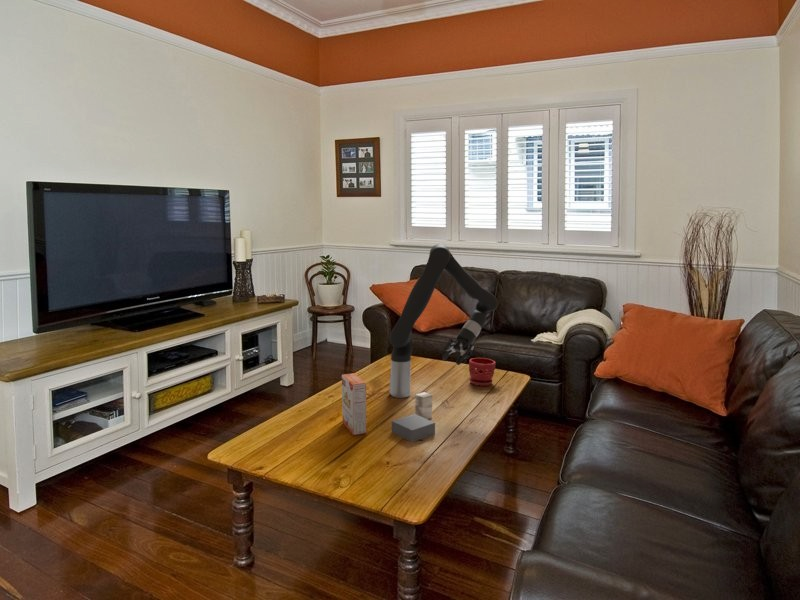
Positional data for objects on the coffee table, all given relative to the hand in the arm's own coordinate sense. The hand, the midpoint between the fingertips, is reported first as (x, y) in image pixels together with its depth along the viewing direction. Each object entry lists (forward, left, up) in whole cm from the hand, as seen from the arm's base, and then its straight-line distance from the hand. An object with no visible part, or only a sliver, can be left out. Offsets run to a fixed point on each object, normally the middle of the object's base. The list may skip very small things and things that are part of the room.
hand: (450, 361), depth 237 cm
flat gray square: (+10, -29, -22) cm, 38 cm away
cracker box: (-8, -45, -22) cm, 51 cm away
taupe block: (0, -15, -22) cm, 26 cm away
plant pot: (-17, +39, -22) cm, 48 cm away
